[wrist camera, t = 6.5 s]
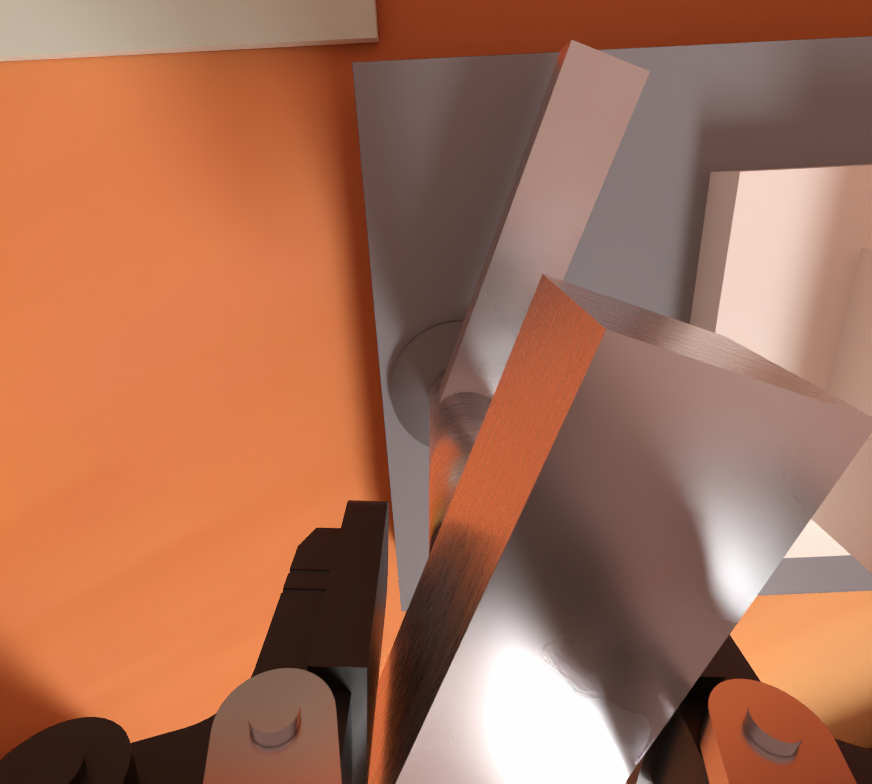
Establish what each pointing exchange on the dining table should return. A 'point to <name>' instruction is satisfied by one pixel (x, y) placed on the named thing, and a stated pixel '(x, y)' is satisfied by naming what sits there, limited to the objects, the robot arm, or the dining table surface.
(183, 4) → the mat
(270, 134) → the dining table surface
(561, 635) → the t key
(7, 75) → the dining table surface
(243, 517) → the dining table surface
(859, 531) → the cover
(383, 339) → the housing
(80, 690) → the dining table surface
